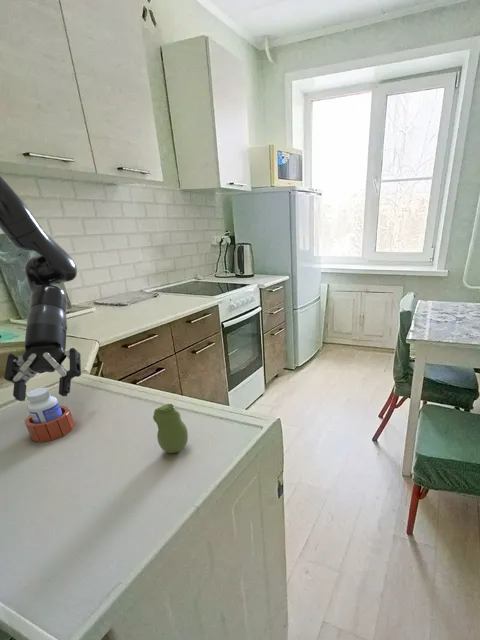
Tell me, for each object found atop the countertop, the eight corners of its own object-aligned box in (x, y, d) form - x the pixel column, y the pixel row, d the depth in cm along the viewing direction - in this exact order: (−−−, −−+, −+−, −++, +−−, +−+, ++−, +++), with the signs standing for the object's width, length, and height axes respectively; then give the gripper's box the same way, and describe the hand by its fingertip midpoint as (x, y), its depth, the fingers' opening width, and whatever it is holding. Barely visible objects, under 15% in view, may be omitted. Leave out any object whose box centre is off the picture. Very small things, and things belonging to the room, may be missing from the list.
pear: (170, 462, 66) (158, 416, 61) (155, 451, 69) (144, 407, 64) (195, 448, 69) (186, 404, 65) (180, 438, 72) (171, 395, 68)
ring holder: (22, 438, 76) (15, 422, 74) (56, 418, 82) (50, 403, 81) (50, 444, 73) (44, 428, 71) (83, 423, 80) (77, 408, 78)
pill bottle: (70, 422, 81) (55, 384, 76) (64, 434, 76) (49, 394, 72) (43, 427, 79) (27, 388, 75) (36, 440, 75) (18, 399, 70)
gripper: (1, 324, 75) (-8, 396, 70) (72, 318, 77) (68, 388, 72) (23, 340, 82) (16, 406, 77) (87, 334, 84) (85, 398, 79)
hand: (41, 397), depth 75 cm, fingers open, 8 cm apart
